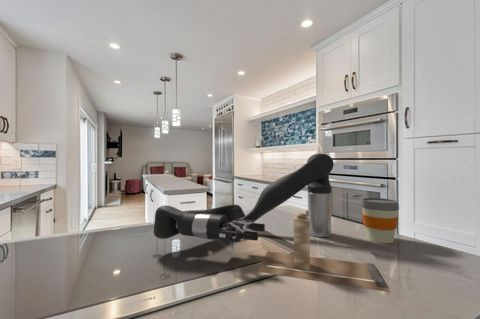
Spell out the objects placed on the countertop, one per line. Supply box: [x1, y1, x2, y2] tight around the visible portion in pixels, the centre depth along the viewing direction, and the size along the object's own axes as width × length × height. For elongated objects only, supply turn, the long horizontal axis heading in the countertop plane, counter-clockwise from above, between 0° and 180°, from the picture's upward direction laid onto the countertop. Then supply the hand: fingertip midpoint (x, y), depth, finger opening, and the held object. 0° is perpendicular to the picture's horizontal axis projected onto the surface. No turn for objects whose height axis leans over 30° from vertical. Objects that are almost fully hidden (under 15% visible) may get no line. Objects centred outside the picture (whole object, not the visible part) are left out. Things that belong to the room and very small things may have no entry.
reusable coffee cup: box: [360, 197, 400, 244], centre depth 89 cm, size 13×13×15 cm
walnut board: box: [256, 251, 391, 293], centre depth 62 cm, size 30×14×2 cm, turn 72°
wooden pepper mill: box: [293, 212, 311, 270], centre depth 63 cm, size 4×4×14 cm
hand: (261, 231), depth 66 cm, fingers open, 8 cm apart
